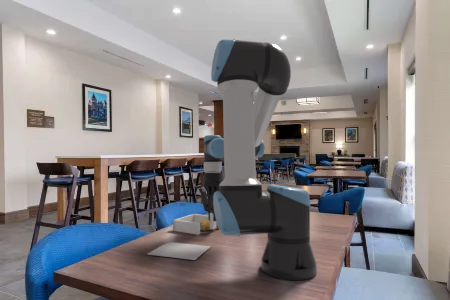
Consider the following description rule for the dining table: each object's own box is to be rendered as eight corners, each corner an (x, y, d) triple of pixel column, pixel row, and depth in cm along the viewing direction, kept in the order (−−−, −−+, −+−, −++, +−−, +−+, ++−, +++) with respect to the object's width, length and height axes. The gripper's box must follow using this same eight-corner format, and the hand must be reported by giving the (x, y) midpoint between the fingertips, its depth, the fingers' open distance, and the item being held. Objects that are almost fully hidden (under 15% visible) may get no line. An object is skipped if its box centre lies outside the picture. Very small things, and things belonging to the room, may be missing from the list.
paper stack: (179, 236, 116) (179, 235, 116) (240, 242, 108) (240, 240, 108) (146, 256, 93) (146, 254, 93) (221, 265, 86) (221, 263, 86)
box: (198, 234, 117) (198, 223, 117) (173, 230, 124) (173, 220, 124) (217, 226, 130) (217, 216, 130) (193, 223, 137) (193, 213, 137)
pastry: (218, 226, 131) (218, 217, 131) (222, 230, 125) (222, 221, 125) (197, 227, 129) (197, 219, 129) (200, 231, 122) (200, 222, 122)
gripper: (230, 171, 123) (230, 228, 123) (204, 171, 130) (205, 225, 129) (221, 172, 117) (222, 232, 116) (195, 172, 123) (195, 228, 122)
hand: (213, 228), depth 122 cm, fingers closed
